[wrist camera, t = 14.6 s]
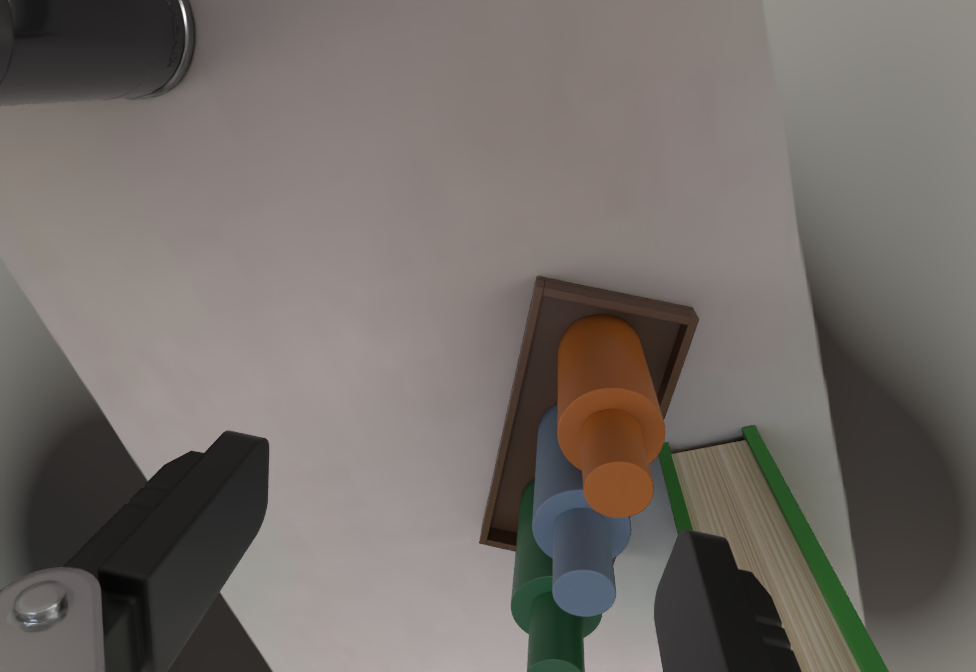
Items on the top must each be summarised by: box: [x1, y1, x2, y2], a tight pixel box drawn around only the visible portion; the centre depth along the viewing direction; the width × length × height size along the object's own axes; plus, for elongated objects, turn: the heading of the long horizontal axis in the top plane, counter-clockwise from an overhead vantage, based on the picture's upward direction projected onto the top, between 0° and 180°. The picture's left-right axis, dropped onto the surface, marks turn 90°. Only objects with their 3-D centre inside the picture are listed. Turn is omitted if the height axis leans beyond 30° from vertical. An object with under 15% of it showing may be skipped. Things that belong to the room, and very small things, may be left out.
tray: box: [479, 276, 699, 565], centre depth 47 cm, size 11×23×2 cm, turn 170°
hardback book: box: [658, 425, 889, 672], centre depth 39 cm, size 18×7×24 cm, turn 18°
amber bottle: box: [557, 314, 665, 518], centre depth 37 cm, size 6×6×16 cm
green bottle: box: [511, 478, 602, 672], centre depth 43 cm, size 6×6×16 cm
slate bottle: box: [532, 403, 631, 617], centre depth 40 cm, size 6×6×16 cm
